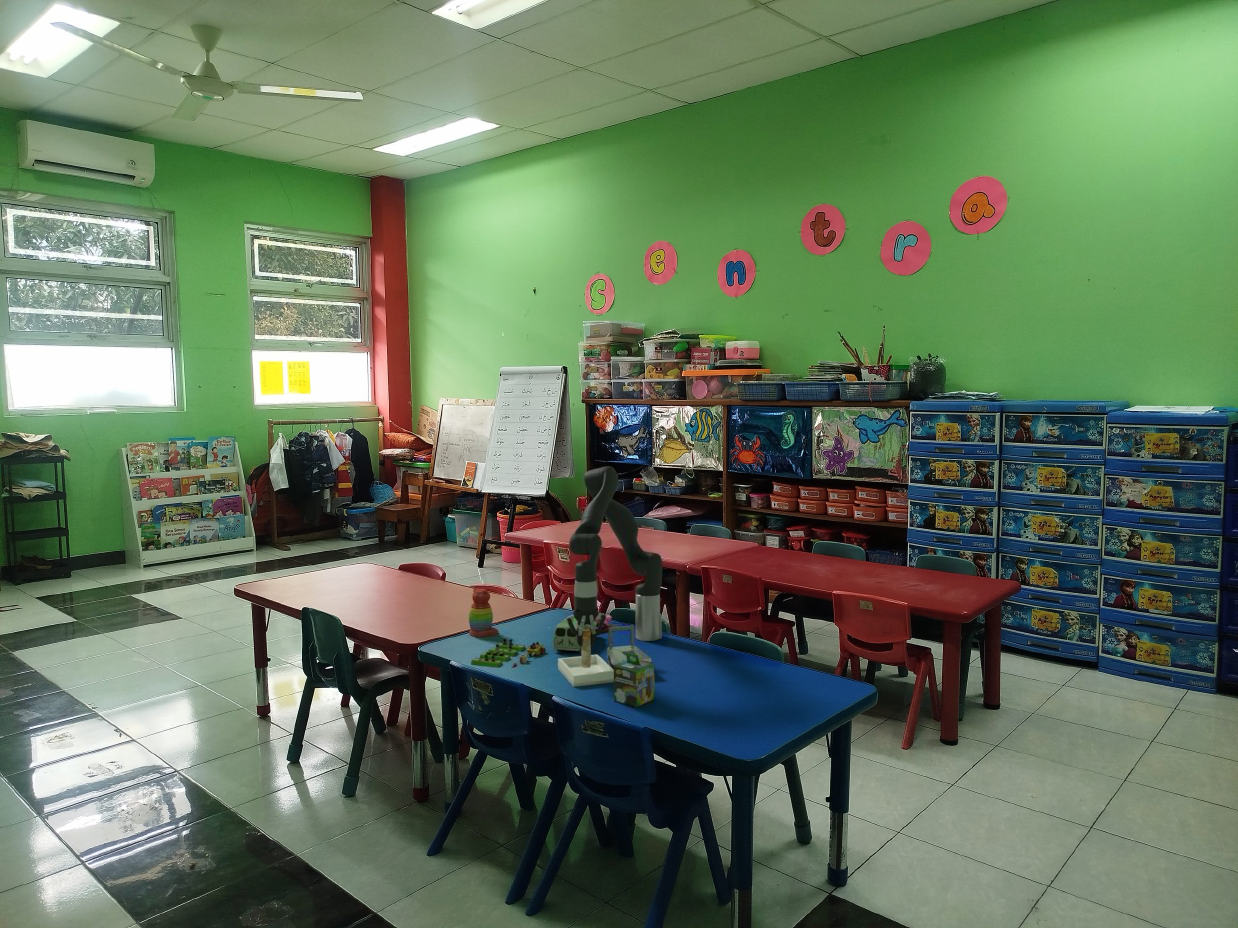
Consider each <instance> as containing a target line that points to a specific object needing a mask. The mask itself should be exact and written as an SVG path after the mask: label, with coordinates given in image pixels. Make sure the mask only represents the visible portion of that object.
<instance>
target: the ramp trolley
mask: <svg viewBox="0 0 1238 928" xmlns="http://www.w3.org/2000/svg"><path fill="white" fill-rule="evenodd" d="M620 626H621V625H620ZM626 630H630V631H629V632H630V634H629V635H630V636H629V637H630V641H629V642H630V645H622V646H613V632H616V631H626ZM626 652H628V653H632V654H636V655H638V658H639V660H644V661H649V662H652V658H651V657H650V656H649V655H648V654H646V653H645V652H644V651H642V650H641V649H640V648H639V647H638V646H636V645H635V625H633V624H632V625H624V626H623V625H622V626H621V627H611V628H609V632H608V647H607V648H606V660H607V664H608V665H609V666H610V667H611V668H614V665H615V664H617V663H620V662H621V661H624V660H627V658H626ZM630 658H634V657H632V656H631V657H630ZM634 659H635V658H634Z"/></svg>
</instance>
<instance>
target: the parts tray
mask: <svg viewBox="0 0 1238 928" xmlns="http://www.w3.org/2000/svg"><path fill="white" fill-rule="evenodd" d="M557 669H558V671H560V673H561V674H562V676H563V677H565V679H566V680H567V681H568V682H569V683H570V684H571V686H572V687H573V688H575V687H582V686H591V685H593V686H594V685H600V684H609V683H614V668H613V667H610V666H609V665H608V662H606V661H605V660H604V659H603V657H601V656H600V655H599V654H591V667H589V668H583V667H582V655H580V656H579V655H578V656H571V657H561V658H560V657H559V658H557Z"/></svg>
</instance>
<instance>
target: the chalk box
mask: <svg viewBox="0 0 1238 928" xmlns="http://www.w3.org/2000/svg"><path fill="white" fill-rule="evenodd" d="M631 656H632V657H634V658H635V659H634V658H630V657H631ZM626 658H627V660H624V661H621V662H620V663H617V664H615V665H614V667H613V670H614V682H613V702H617V703H621V704H624V705H628V706H629V707H634V708H639V707H641V706H643V705H644V704H646V703H650V702H651V701H653V700H655V699H656V697H655V663H654V662H653V661H651V662H649V661H644V660H639V658H638V655H636V654H632V653H628V652H626Z"/></svg>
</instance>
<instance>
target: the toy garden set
mask: <svg viewBox="0 0 1238 928" xmlns="http://www.w3.org/2000/svg"><path fill="white" fill-rule="evenodd" d="M513 640H514V639H512V638H510V639H508V642H507V639H506V638H503V639H502V641H503V642H499V643H498V644H497V643H495V647H491V648H489V649H488V651H485V652H483V653H480V655H479V657H474V659H471V661H470V664H471V665H473V666H483V667H491V668H499V667H500V666H501V665H503V663H504V662H505V663H506V662H507V661H509V660H510V659H511V657H515V656H516V655H518V654H519V652H522V651H524V650H525V649H526V650H525V651H526V652H525V654H520V655H519V658H518V659H516V661H515V662H514V663H513V665H512V666H511V668H514V667H515V666H516V665H517V663H518V661H519V663H520V664H527V663H528V660H527V659H528V657H529V655H530V656H540V655H545V654H546V652H547V651H546V650H547V649H546V647H543V645H544V644H543V643H540V642H538V641H536V642H532V643H531V644H530V645H529V646H527V647H526V645H525V644H517V643H513Z"/></svg>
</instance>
